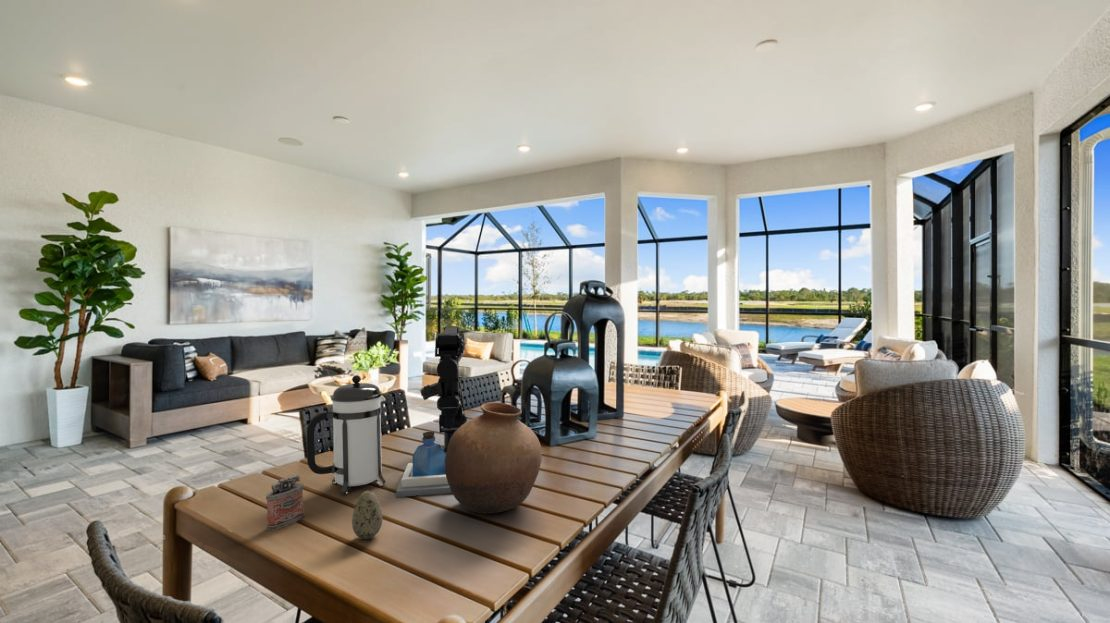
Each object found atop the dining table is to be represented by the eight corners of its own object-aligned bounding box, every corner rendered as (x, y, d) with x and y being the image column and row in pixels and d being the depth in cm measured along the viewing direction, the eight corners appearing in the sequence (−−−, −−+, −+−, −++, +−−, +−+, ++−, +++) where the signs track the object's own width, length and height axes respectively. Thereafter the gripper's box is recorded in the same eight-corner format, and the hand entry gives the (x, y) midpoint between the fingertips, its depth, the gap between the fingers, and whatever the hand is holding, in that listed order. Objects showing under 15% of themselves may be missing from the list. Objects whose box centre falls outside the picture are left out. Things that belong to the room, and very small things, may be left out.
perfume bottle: (445, 474, 134) (444, 432, 134) (428, 482, 129) (427, 437, 129) (430, 470, 138) (429, 429, 137) (412, 477, 132) (412, 434, 132)
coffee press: (347, 472, 141) (345, 370, 140) (397, 476, 138) (395, 371, 137) (305, 496, 124) (303, 380, 123) (361, 501, 121) (359, 382, 120)
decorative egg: (361, 530, 105) (360, 485, 105) (387, 531, 105) (386, 486, 104) (346, 544, 99) (345, 496, 99) (374, 545, 99) (373, 497, 98)
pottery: (437, 498, 122) (436, 400, 122) (523, 483, 131) (522, 392, 131) (456, 538, 101) (454, 420, 101) (557, 517, 110) (556, 409, 110)
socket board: (406, 472, 141) (405, 460, 141) (458, 468, 143) (458, 457, 143) (396, 497, 123) (395, 483, 123) (456, 492, 126) (455, 479, 125)
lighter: (271, 531, 105) (270, 486, 105) (263, 528, 107) (262, 483, 107) (307, 517, 112) (306, 474, 112) (299, 514, 114) (298, 472, 114)
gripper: (425, 370, 155) (426, 419, 155) (418, 380, 137) (419, 434, 137) (460, 369, 157) (461, 417, 157) (458, 378, 138) (459, 432, 139)
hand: (450, 424), depth 148 cm, fingers open, 9 cm apart
